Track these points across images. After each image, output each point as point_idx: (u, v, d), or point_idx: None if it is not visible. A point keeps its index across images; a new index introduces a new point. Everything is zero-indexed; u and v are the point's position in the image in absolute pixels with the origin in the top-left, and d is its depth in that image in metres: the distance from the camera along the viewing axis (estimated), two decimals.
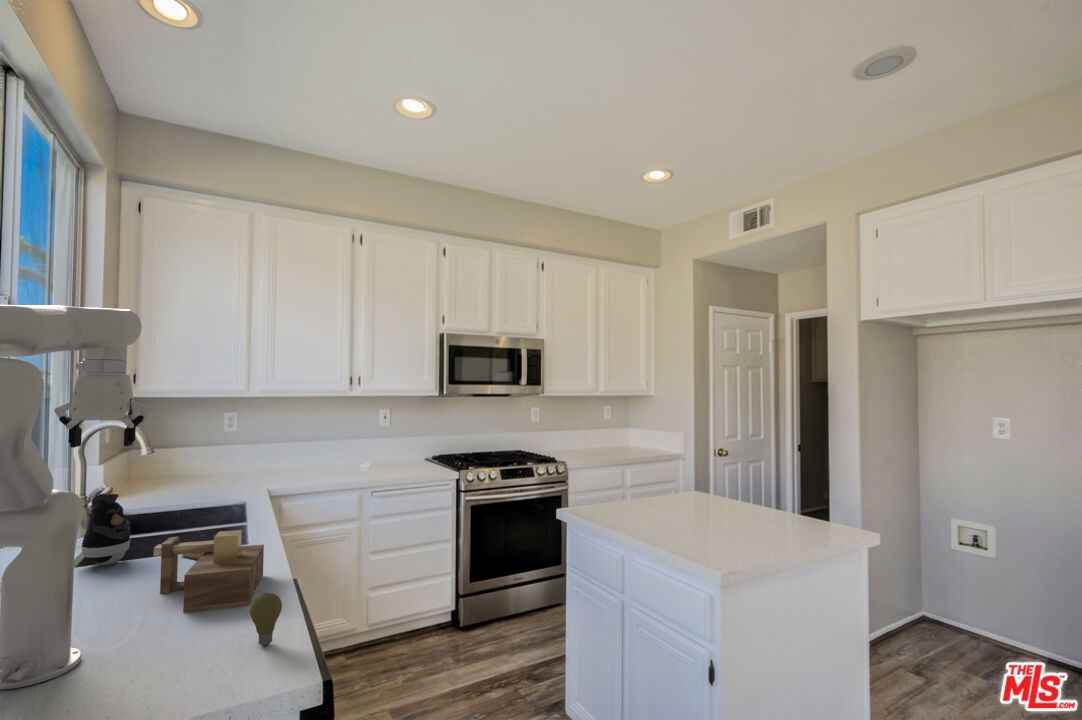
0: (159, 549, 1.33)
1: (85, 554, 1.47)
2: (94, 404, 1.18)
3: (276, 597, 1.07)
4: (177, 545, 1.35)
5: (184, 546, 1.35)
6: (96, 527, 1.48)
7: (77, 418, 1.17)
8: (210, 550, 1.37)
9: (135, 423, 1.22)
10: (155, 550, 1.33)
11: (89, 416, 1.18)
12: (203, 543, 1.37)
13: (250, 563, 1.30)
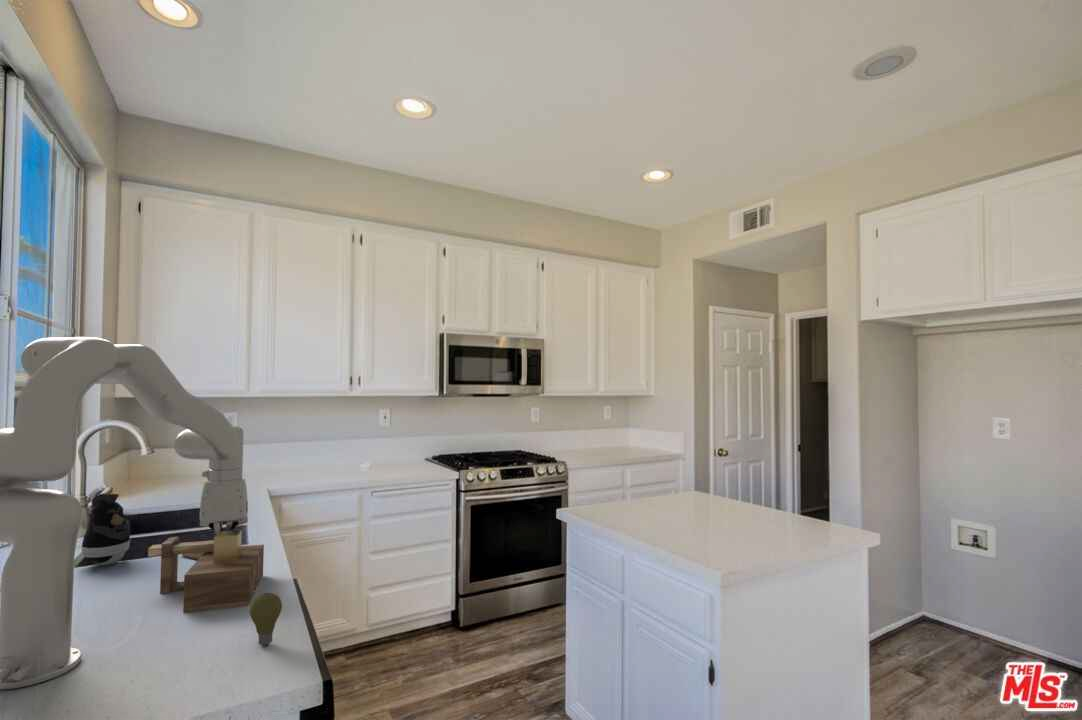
0: (154, 549, 1.33)
1: (85, 554, 1.47)
2: (218, 508, 1.37)
3: (276, 597, 1.07)
4: None
5: (179, 546, 1.35)
6: (96, 527, 1.48)
7: (205, 521, 1.36)
8: (205, 550, 1.37)
9: None
10: (150, 550, 1.33)
11: (214, 519, 1.36)
12: (198, 543, 1.37)
13: (250, 563, 1.30)
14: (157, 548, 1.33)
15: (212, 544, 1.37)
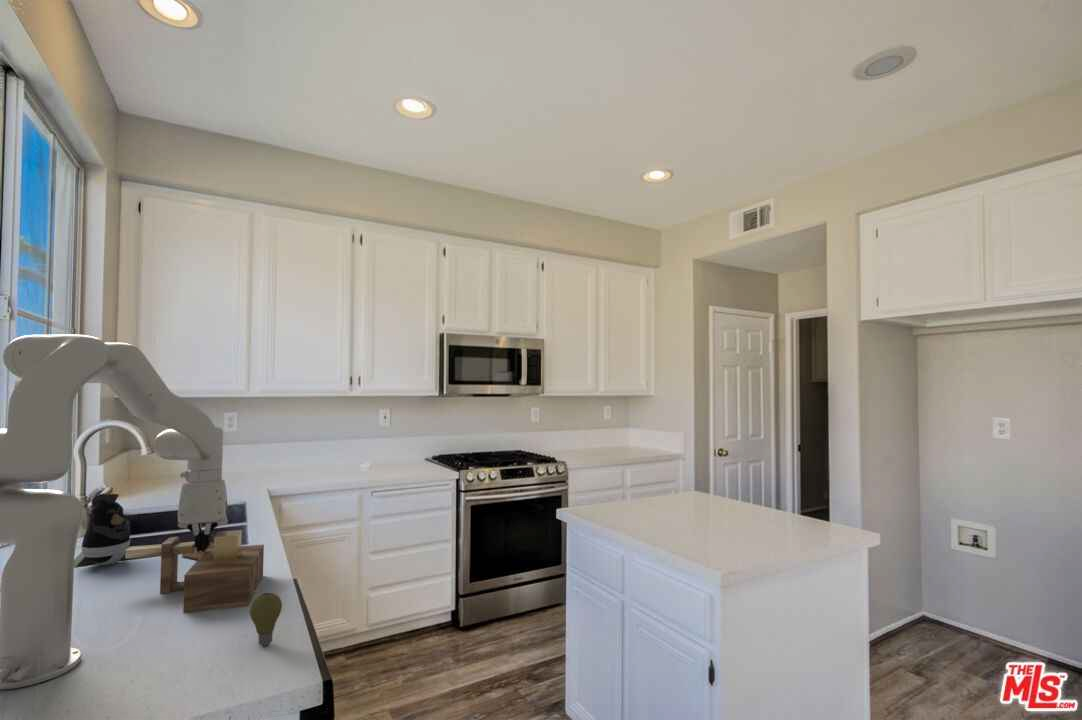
0: (131, 551, 1.32)
1: (85, 554, 1.47)
2: (197, 510, 1.35)
3: (276, 597, 1.07)
4: (149, 547, 1.34)
5: (157, 548, 1.33)
6: (96, 527, 1.48)
7: (183, 523, 1.34)
8: (183, 552, 1.35)
9: None
10: (127, 552, 1.31)
11: (193, 521, 1.35)
12: (176, 545, 1.35)
13: (250, 563, 1.30)
14: (134, 550, 1.32)
15: (190, 546, 1.36)
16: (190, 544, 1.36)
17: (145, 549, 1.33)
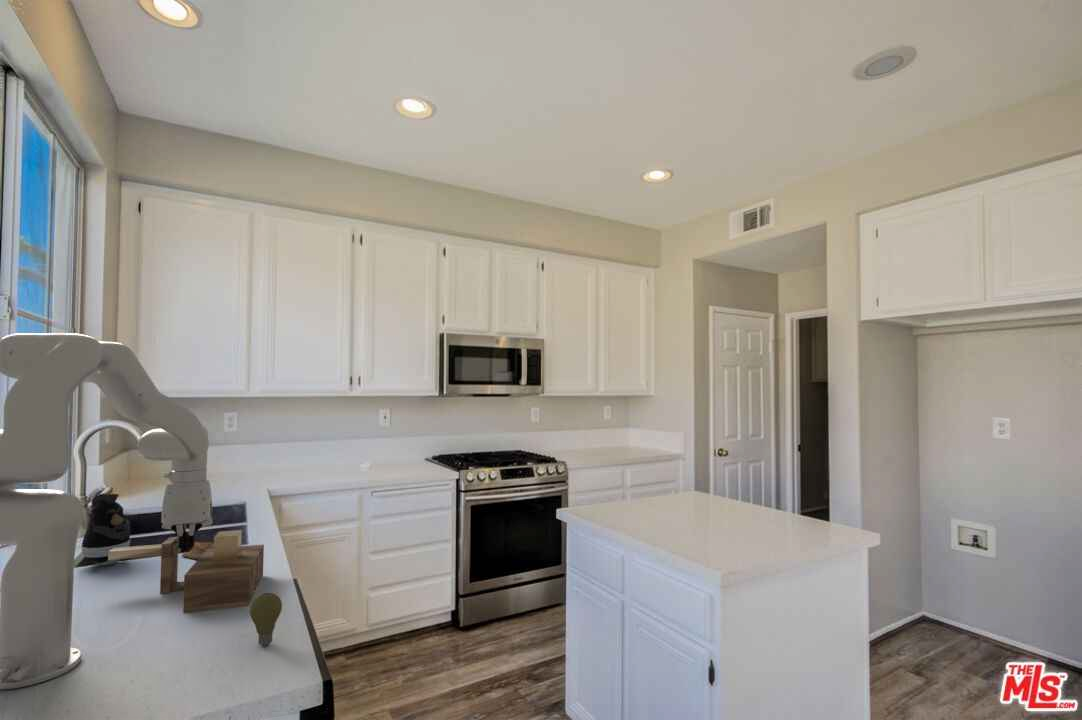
0: (114, 552, 1.31)
1: (85, 554, 1.47)
2: (181, 510, 1.34)
3: (276, 597, 1.07)
4: (133, 548, 1.32)
5: (140, 549, 1.32)
6: (96, 527, 1.48)
7: (166, 523, 1.33)
8: None
9: None
10: (110, 553, 1.30)
11: (176, 521, 1.34)
12: (160, 546, 1.34)
13: (250, 563, 1.30)
14: (117, 551, 1.31)
15: (174, 547, 1.35)
16: (174, 545, 1.35)
17: (128, 550, 1.32)
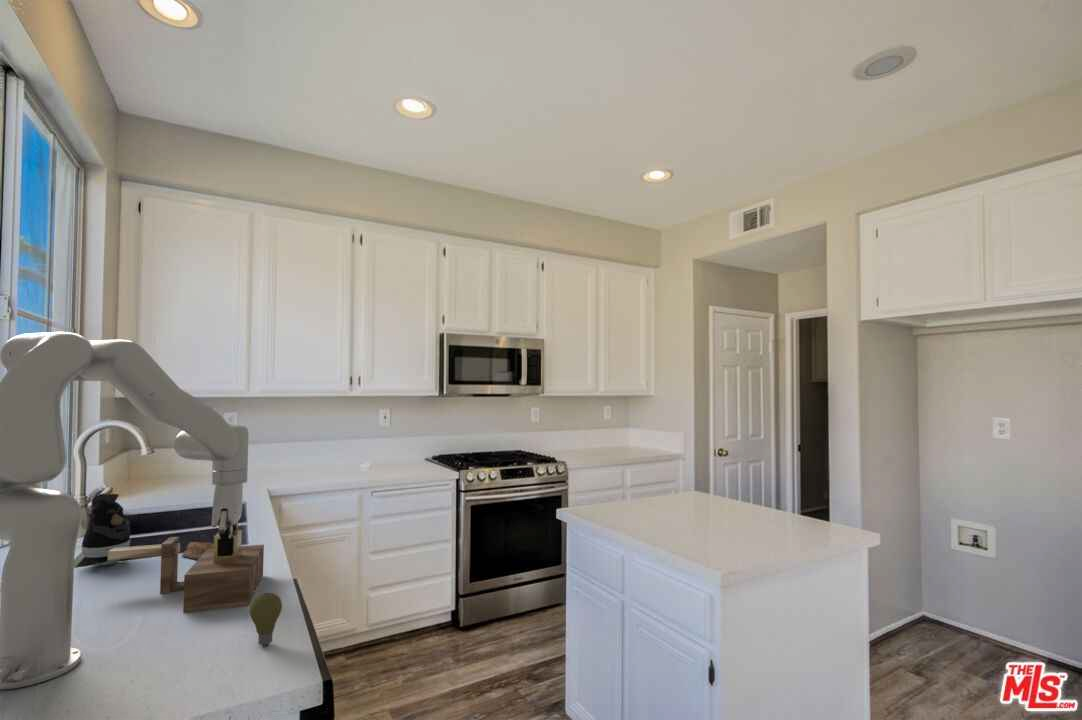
0: (113, 552, 1.31)
1: (85, 554, 1.47)
2: None
3: (276, 597, 1.07)
4: (133, 548, 1.32)
5: (140, 549, 1.32)
6: (96, 527, 1.48)
7: None
8: None
9: (220, 538, 1.29)
10: (109, 554, 1.30)
11: None
12: (160, 546, 1.34)
13: (250, 563, 1.30)
14: (117, 551, 1.31)
15: (174, 547, 1.35)
16: (174, 545, 1.35)
17: (128, 550, 1.32)
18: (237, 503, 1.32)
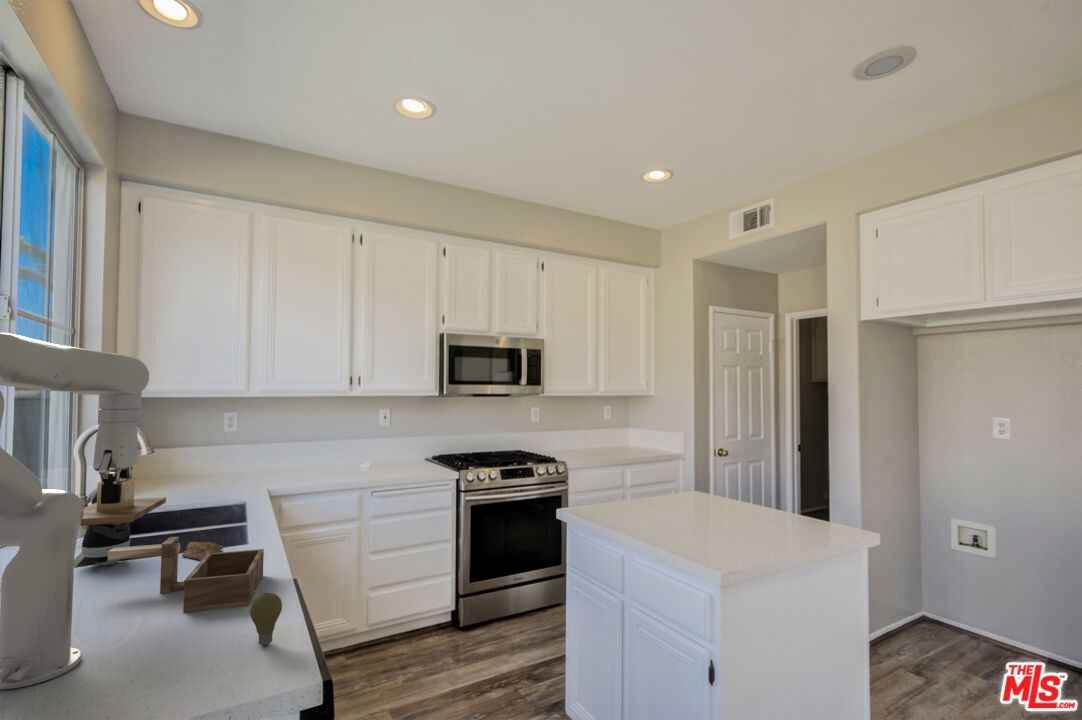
0: (113, 552, 1.31)
1: (85, 554, 1.47)
2: None
3: (276, 597, 1.07)
4: (133, 548, 1.32)
5: (140, 549, 1.32)
6: (96, 527, 1.48)
7: None
8: None
9: None
10: (109, 554, 1.30)
11: None
12: (160, 546, 1.34)
13: (136, 511, 1.16)
14: (117, 551, 1.31)
15: (174, 547, 1.35)
16: (174, 545, 1.35)
17: (128, 550, 1.32)
18: (125, 445, 1.18)
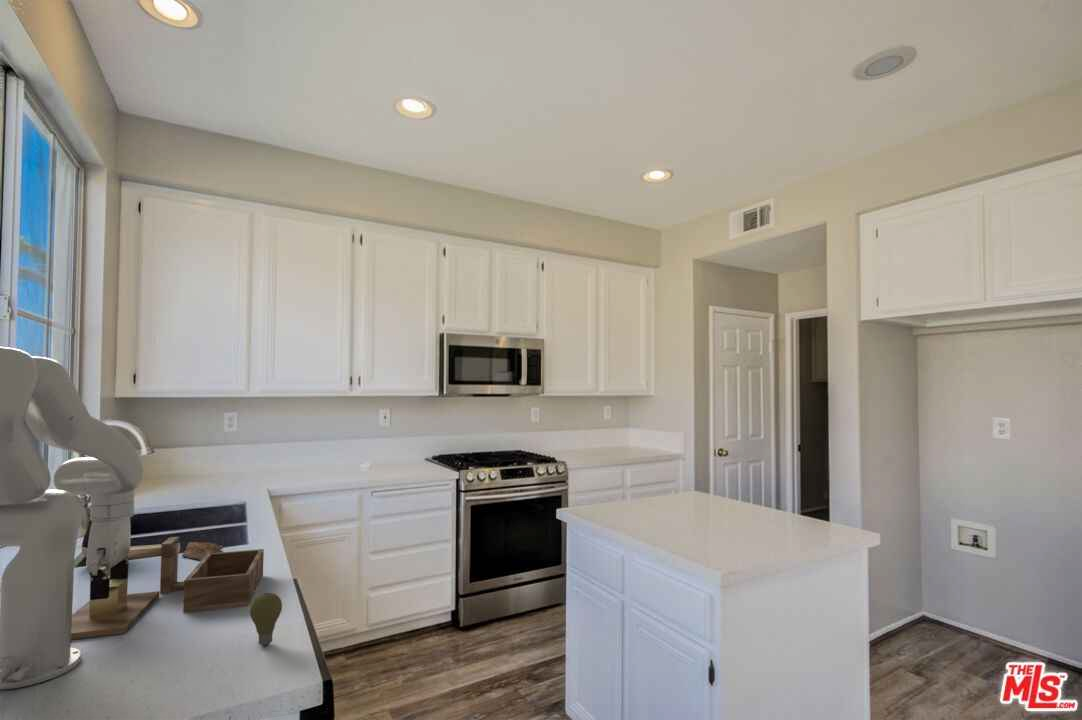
0: None
1: (85, 554, 1.47)
2: None
3: (276, 597, 1.07)
4: (133, 548, 1.32)
5: (140, 549, 1.32)
6: None
7: None
8: None
9: None
10: None
11: None
12: (160, 546, 1.34)
13: (130, 618, 1.15)
14: None
15: (174, 547, 1.35)
16: (174, 545, 1.35)
17: None
18: (118, 541, 1.17)
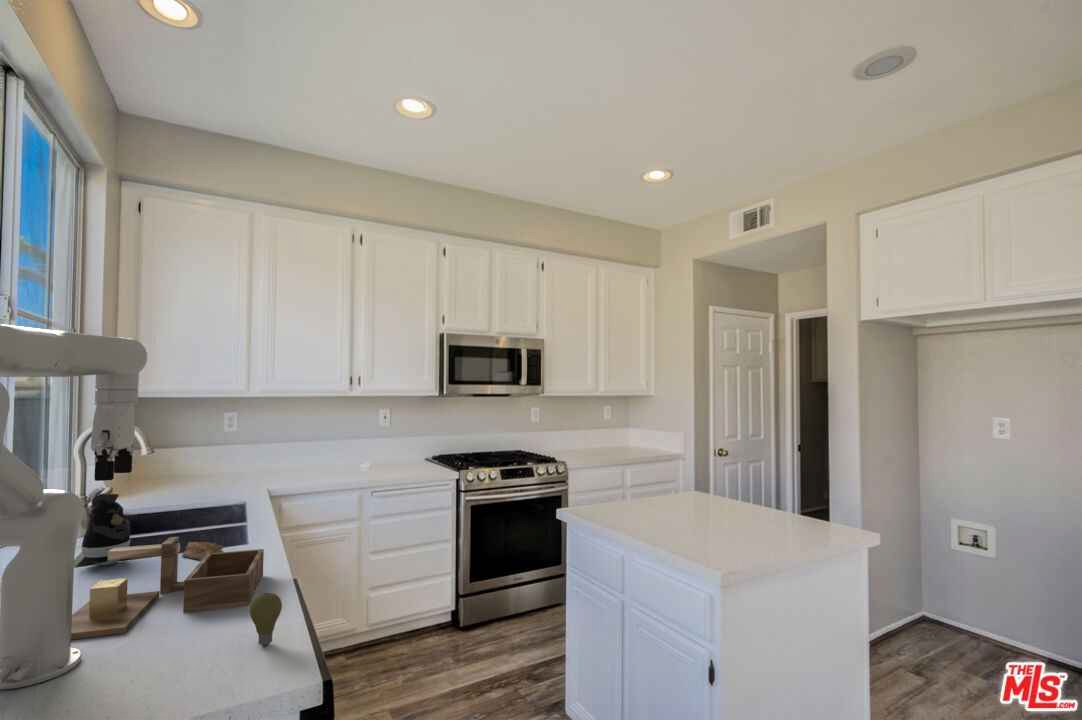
0: (113, 552, 1.31)
1: (85, 554, 1.47)
2: None
3: (276, 597, 1.07)
4: (133, 548, 1.32)
5: (140, 549, 1.32)
6: (96, 527, 1.48)
7: None
8: None
9: None
10: (109, 554, 1.30)
11: None
12: (160, 546, 1.34)
13: (130, 618, 1.15)
14: (117, 551, 1.31)
15: (174, 547, 1.35)
16: (174, 545, 1.35)
17: (128, 550, 1.32)
18: (123, 426, 1.18)
